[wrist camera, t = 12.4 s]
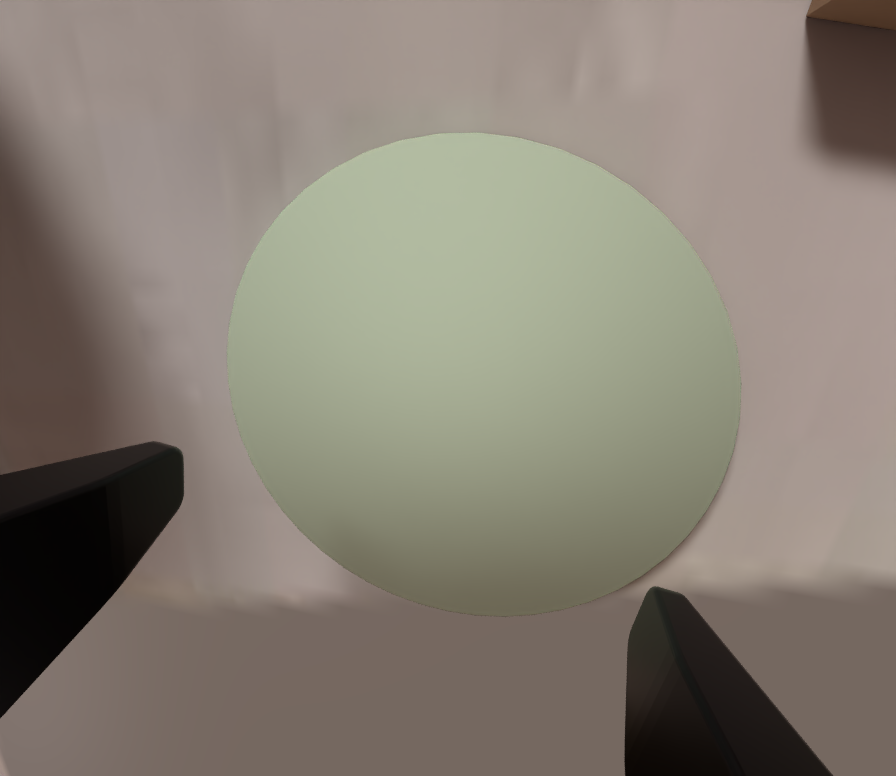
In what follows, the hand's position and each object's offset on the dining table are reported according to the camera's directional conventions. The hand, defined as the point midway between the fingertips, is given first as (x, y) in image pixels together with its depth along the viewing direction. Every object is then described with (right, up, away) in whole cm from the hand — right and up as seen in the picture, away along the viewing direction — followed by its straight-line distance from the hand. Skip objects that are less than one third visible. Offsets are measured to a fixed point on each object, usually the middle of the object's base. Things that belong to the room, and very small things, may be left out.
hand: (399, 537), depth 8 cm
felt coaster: (+1, +2, +5) cm, 5 cm away
